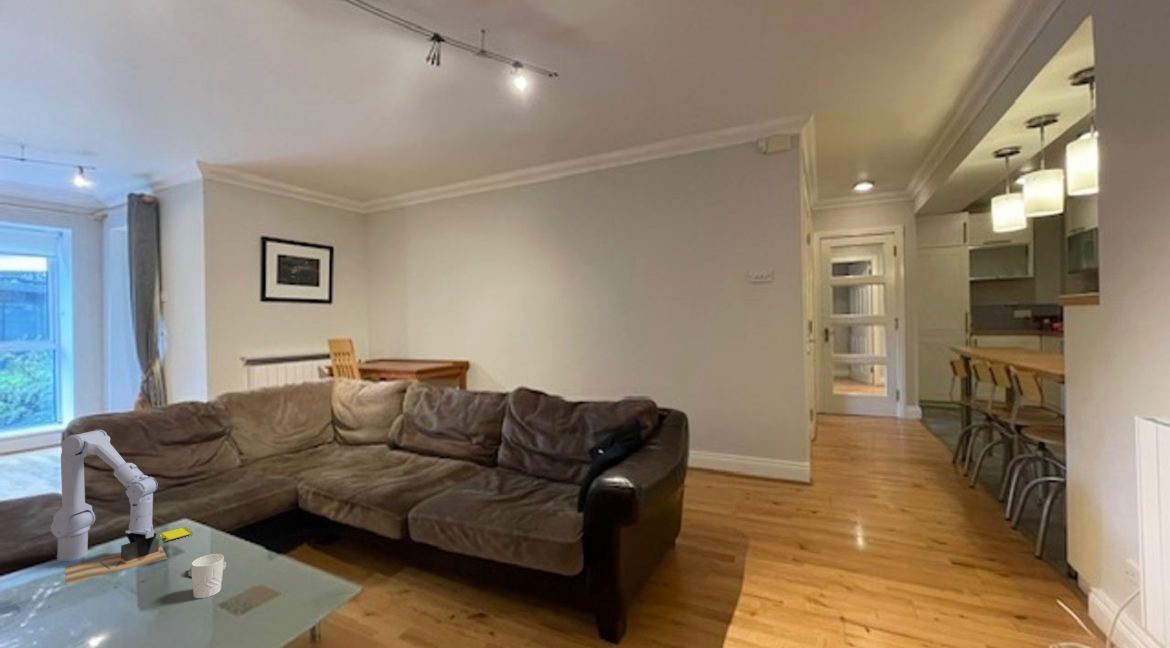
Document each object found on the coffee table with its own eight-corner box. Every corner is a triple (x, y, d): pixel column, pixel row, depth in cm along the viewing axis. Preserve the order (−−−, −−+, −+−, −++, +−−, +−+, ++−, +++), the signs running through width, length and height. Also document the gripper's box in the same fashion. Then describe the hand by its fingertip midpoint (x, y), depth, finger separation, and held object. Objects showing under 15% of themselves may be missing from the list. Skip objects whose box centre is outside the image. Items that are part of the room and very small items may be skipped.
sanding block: (119, 560, 166) (120, 545, 166) (153, 550, 174) (153, 536, 174) (125, 564, 164) (126, 549, 164) (159, 553, 172) (159, 539, 172)
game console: (183, 529, 197) (183, 525, 197) (194, 536, 190) (194, 532, 190) (123, 545, 182) (123, 541, 182) (133, 553, 175) (133, 549, 175)
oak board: (64, 570, 161) (64, 566, 161) (160, 547, 179) (160, 543, 179) (66, 588, 151) (66, 584, 151) (167, 561, 168) (167, 558, 168)
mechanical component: (180, 577, 159) (205, 580, 157) (180, 563, 159) (205, 567, 157) (209, 562, 169) (233, 566, 167) (209, 549, 169) (233, 553, 167)
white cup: (229, 588, 152) (230, 556, 153) (202, 602, 145) (203, 568, 145) (211, 584, 155) (212, 552, 155) (184, 596, 148) (185, 563, 148)
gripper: (117, 513, 169) (116, 553, 169) (135, 522, 162) (134, 563, 162) (143, 507, 176) (142, 545, 175) (161, 515, 168) (160, 555, 168)
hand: (140, 553), depth 169 cm, fingers closed on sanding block, 5 cm apart
